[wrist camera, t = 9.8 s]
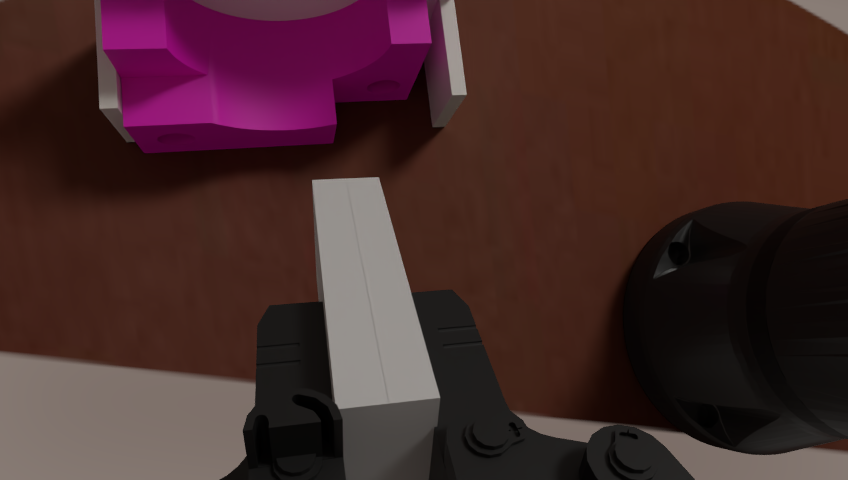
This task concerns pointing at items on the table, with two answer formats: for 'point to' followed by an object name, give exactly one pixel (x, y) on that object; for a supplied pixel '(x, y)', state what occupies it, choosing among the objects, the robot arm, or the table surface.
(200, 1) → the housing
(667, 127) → the table surface
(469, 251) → the table surface
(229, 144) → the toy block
